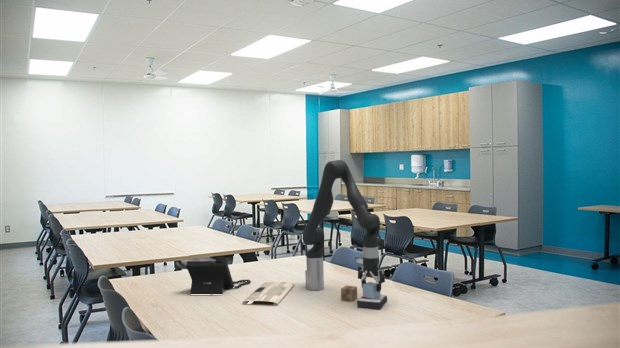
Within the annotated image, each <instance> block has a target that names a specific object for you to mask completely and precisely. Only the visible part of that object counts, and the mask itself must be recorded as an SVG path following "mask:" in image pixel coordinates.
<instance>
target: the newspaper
mask: <svg viewBox="0 0 620 348" xmlns="http://www.w3.org/2000/svg"><path fill="white" fill-rule="evenodd" d="M295 284H296V283H294V282H291V281H284V280H282V281H281V280H279V281H277V280H276V281H275V280H274V281H270V280H267V281H265V282H263V283H262V284H261V285H259V287H257V288H256V289H255V290H254V291H253V292H251V294H250V295H248V296H247V297H246V298H245V299H244V300H243V301H242V305H243V304H244V305H245V304H247V303H248V302H249V301H255V302H271V303H273V304H272V306H275V307H277V306H279V304H280V303H281V302H282V301H283V299H285V297H286V296H287V295H288V294H289V292H290V291H291V290H292V289H293V288H294V286H295ZM274 303H275V304H274ZM247 305H248V304H247Z"/></svg>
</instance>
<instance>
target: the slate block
mask: <svg viewBox="0 0 620 348" xmlns="http://www.w3.org/2000/svg"><path fill="white" fill-rule="evenodd" d="M380 294H381V291H379V292H377V282H374V281H367V282H366V283H365V284H363V288H362V296H363V297H366V298H371V299H375V298H377V297H380V296H381V295H380Z"/></svg>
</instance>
